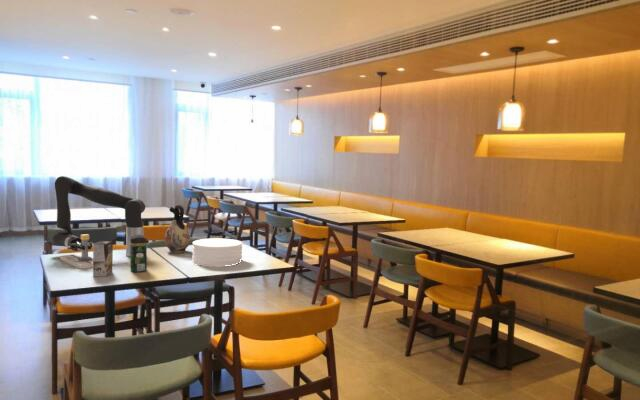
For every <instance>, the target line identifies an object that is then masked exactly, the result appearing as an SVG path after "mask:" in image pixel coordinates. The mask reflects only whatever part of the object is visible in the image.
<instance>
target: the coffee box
mask: <svg viewBox="0 0 640 400" xmlns="http://www.w3.org/2000/svg"><path fill="white" fill-rule="evenodd" d="M113 244H114V240H113V241H112V240H99V241H97V242H95V243H93V246H92V248H93V249H92V252H93V255H92V258H93V267H92V277H107V276H109V275H110V274H112V273H113V265H114V264H113V255H114V254H113V252H114V251H113V250H114V247H113V246H114V245H113Z"/></svg>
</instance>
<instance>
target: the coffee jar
mask: <svg viewBox="0 0 640 400" xmlns="http://www.w3.org/2000/svg"><path fill="white" fill-rule="evenodd" d="M147 241H148V240H147V237H146V236H145V235H144V234H143V235H134V236H132V237H131V241H130V256H129V258H130V264H129V266H130V267H129V268H130V271H131V272H133V273H134V272H135V273H142V272H146V271H147V267H148V266H147V265H148V264H147V261H148V260H147V258H148V257H147V256H148V254H147V251H148V249H147V243H148V242H147Z"/></svg>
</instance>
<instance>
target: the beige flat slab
mask: <svg viewBox="0 0 640 400" xmlns="http://www.w3.org/2000/svg"><path fill="white" fill-rule="evenodd" d="M59 257H60V258H59V260H60V261H63V262H64V263H66V264H69V265H71V266H74V267H75V268H78V269H79V270H83V269H84V270H85V269H90V268H93V257H91V258H92V260H88V261H79V260H78V258H79V257H82V253H74V254H65V255H60V256H59Z"/></svg>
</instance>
